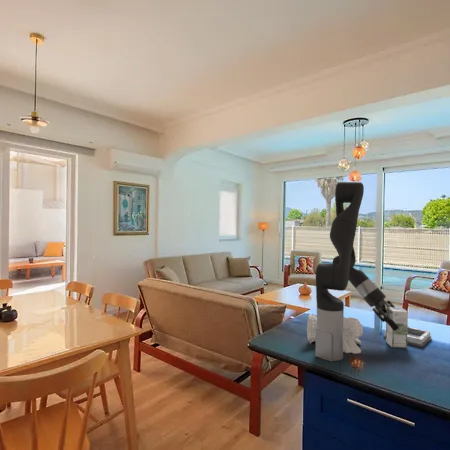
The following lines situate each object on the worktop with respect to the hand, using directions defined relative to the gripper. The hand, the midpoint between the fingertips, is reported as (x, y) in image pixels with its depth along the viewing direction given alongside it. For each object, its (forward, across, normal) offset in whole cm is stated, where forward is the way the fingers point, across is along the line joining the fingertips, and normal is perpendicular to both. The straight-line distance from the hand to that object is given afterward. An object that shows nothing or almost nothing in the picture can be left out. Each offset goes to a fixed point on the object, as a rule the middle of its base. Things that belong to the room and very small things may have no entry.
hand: (400, 327), depth 119 cm
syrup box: (+5, 0, +6) cm, 8 cm away
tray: (+5, +12, +6) cm, 14 cm away
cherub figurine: (-7, -18, +18) cm, 26 cm away
